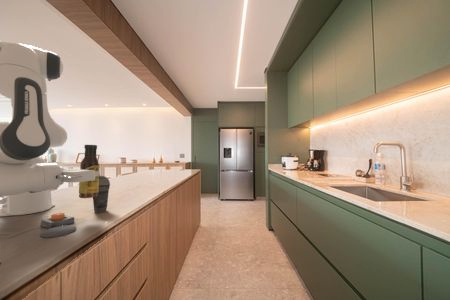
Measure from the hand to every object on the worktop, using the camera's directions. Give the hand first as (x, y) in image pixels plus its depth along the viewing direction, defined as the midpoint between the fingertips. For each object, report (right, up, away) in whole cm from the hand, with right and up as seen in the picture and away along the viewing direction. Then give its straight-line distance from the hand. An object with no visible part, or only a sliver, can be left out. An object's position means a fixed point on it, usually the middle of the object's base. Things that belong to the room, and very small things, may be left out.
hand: (91, 173), depth 79 cm
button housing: (-9, -18, -5) cm, 21 cm away
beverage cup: (-3, -18, +11) cm, 22 cm away
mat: (-3, -18, -12) cm, 22 cm away
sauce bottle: (0, -9, -1) cm, 9 cm away
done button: (-9, -16, -5) cm, 19 cm away
